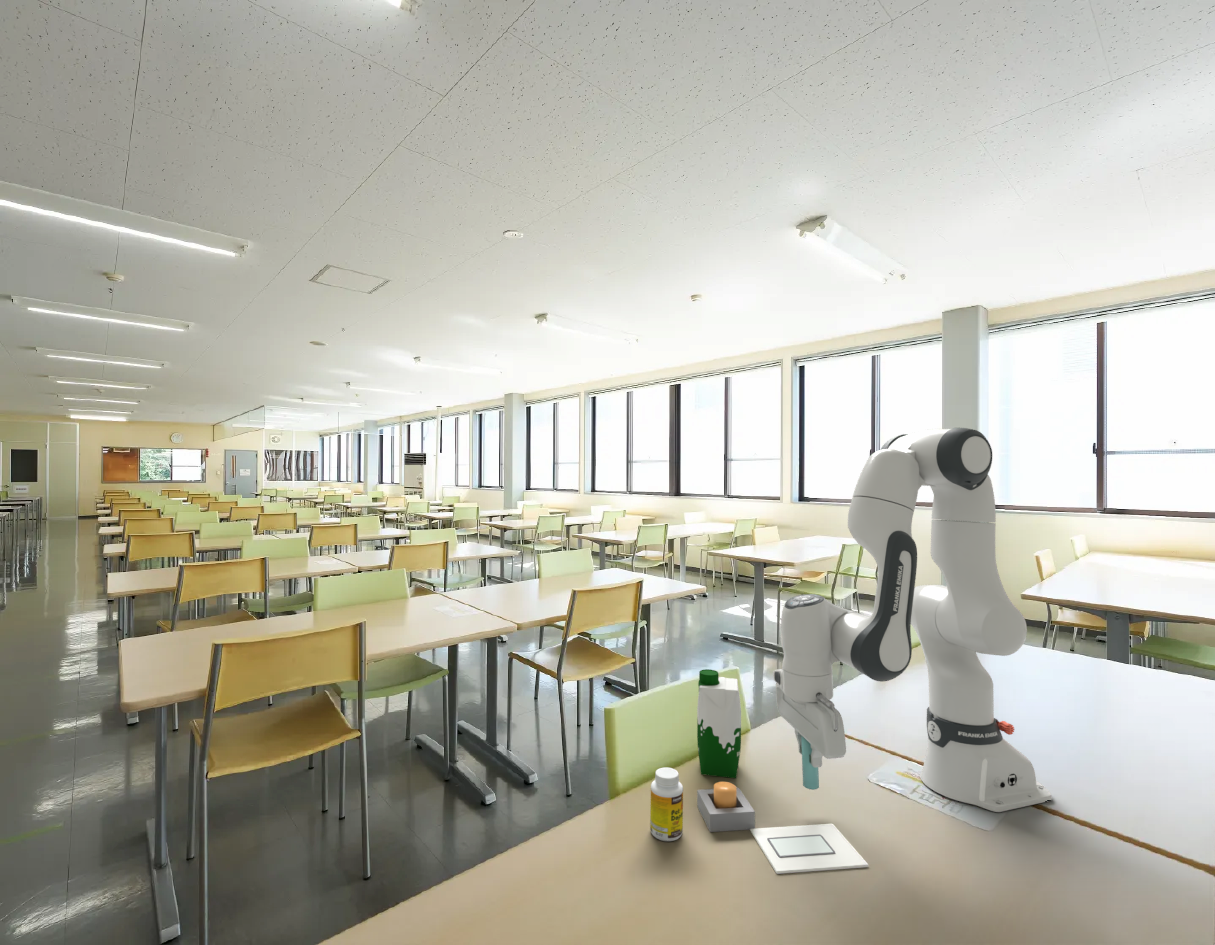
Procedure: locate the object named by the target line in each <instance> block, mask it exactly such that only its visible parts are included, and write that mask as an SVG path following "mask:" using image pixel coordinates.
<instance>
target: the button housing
mask: <svg viewBox="0 0 1215 945" xmlns="http://www.w3.org/2000/svg"><path fill="white" fill-rule="evenodd" d="M736 788H737V797H736V808H723V809H716V808H715V806H714V788H709V789H697V791H696V793H697V794H696V798H697V799H696V800H697V801H696V803H697V804H696V806H697V809H698V811H699V813H700V815H701V817H702V819H703V820H704V823H705V825H706V827H707V829H708V831H709V833H714V832H716V833H718V832H731V831H745V830H749V831H750V829H755V828H756V818H755V817H756V811H755V809H754V808H753V806H752V805H751V804H750V801H749V800H748V799H747V797H746V796H745V795H744V793H743V791H742V790H741V788H740V787H736Z"/></svg>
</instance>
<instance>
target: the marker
mask: <svg viewBox="0 0 1215 945" xmlns="http://www.w3.org/2000/svg"><path fill="white" fill-rule="evenodd" d="M801 742H802V755H801V762H802V764H801V766H802V768H801V770H802V786H803V787H804V788H805V789H807V790H814V791H815V790H818V789H819V788H820V779H819V778H820V777H819V775H820V774H819V773H820V772H819V767H816V768H815V767H813V766H812V765H811V764H810V762H809V754H811V753H812V748H811V744H810V743H809V742H808V741H807V740H806V739H805V738H804V737H803V736H802V735H801Z"/></svg>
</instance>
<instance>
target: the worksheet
mask: <svg viewBox="0 0 1215 945" xmlns="http://www.w3.org/2000/svg"><path fill="white" fill-rule="evenodd" d="M749 831H750V834H751V835H752V836H753V838H754V839H755V841H756V843H757V844H758V847H759V848H760V849H761V851H762V853H763V854H764V856H765V857H766V859H767V861H768V862H769V864H770V866H771V867H772V869H773V870H774V872H775V874H777V875H779V874H792V873H808V872H821V871H833V870H844V869H845V870H846V869H848V870H849V869H857V868H859V869H860V868H869V863H868V862H867V861H866V860H865V859H864V858H863V856H862V855H861V854H860V853H859V852H858V851H857V850H856V849H855V847H854V846H853V845H852V844H851V842H850V841H848V839H847V838H846V837H845V836H844V835H843V833H842V832H841V831H840V830H839V829H838V828H837V827H836V826H835V824H833V823H823V824H821V823H819V824H808V825H807V824H804V825H789V826H786V825H785V826H774V827H771V826H770V827H758V828H756V827H755V829H749Z"/></svg>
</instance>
